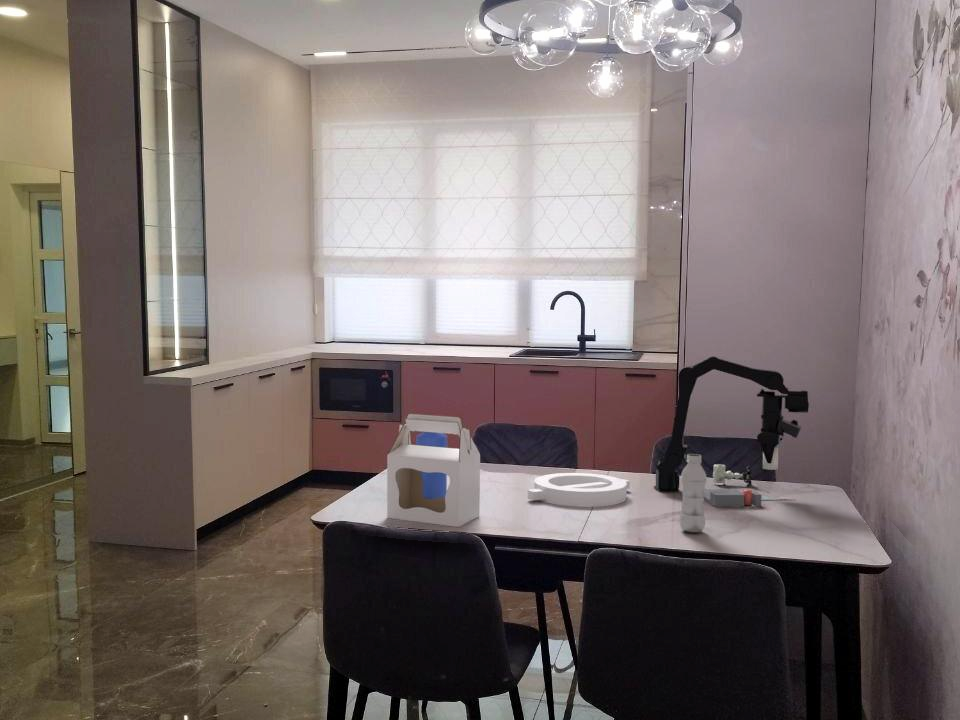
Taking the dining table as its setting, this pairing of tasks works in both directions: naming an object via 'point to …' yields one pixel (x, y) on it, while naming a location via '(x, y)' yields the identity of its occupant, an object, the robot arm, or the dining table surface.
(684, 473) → the plastic bottle
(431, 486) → the water bottle
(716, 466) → the valve
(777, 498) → the mat
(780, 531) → the dining table surface
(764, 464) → the cartridge
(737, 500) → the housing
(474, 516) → the gable box
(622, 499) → the white circle with bar
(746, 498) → the plunger button
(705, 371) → the robot arm
